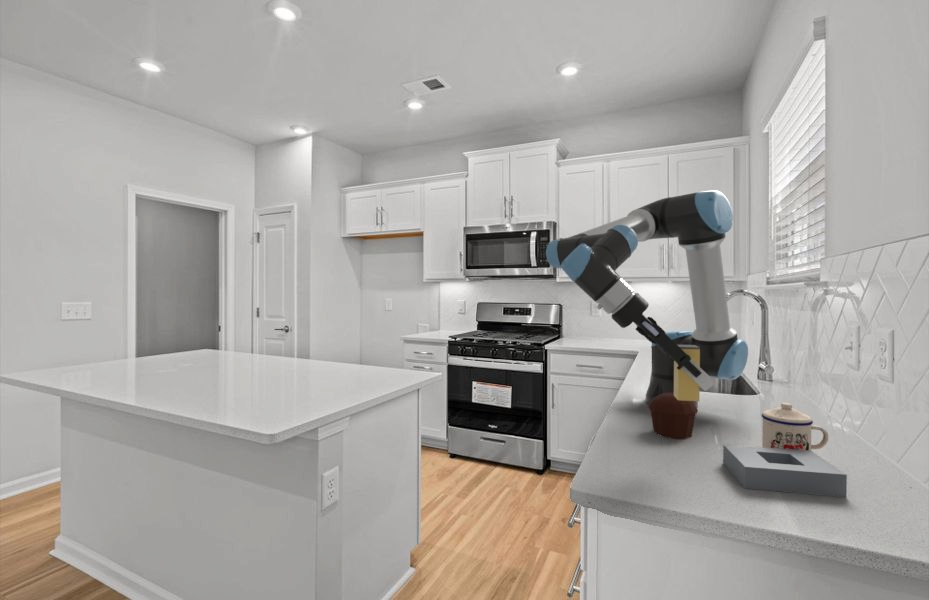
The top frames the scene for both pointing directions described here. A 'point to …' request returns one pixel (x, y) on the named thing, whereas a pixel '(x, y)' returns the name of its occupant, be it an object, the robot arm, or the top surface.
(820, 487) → the socket plate
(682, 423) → the muffin
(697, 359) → the plug
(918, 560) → the top surface
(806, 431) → the teacup with lid
